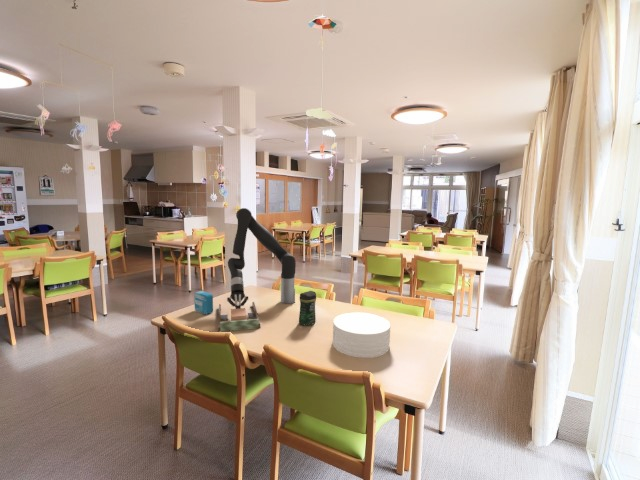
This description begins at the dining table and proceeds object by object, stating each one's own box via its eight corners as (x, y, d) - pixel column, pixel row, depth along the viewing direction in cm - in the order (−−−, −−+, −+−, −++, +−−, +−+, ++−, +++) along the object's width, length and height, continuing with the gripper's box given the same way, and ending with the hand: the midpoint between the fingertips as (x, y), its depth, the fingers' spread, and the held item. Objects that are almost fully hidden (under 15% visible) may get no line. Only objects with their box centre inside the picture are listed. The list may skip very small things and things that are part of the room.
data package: (194, 310, 203) (194, 292, 201) (200, 308, 207) (200, 290, 205) (207, 314, 196) (206, 295, 195) (213, 312, 200) (212, 293, 199)
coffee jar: (306, 327, 181) (307, 295, 179) (296, 323, 186) (297, 292, 184) (318, 322, 189) (318, 291, 186) (307, 319, 194) (308, 288, 191)
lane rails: (254, 305, 215) (253, 298, 214) (260, 328, 179) (260, 319, 178) (219, 307, 209) (219, 300, 208) (218, 331, 173) (218, 322, 172)
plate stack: (352, 328, 182) (353, 308, 181) (399, 343, 165) (400, 321, 163) (321, 345, 161) (321, 322, 159) (370, 364, 143) (371, 339, 142)
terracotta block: (245, 319, 191) (245, 308, 190) (246, 327, 180) (246, 315, 179) (231, 320, 189) (230, 309, 188) (231, 328, 177) (231, 316, 176)
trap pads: (254, 312, 201) (254, 312, 201) (255, 317, 194) (255, 317, 194) (220, 315, 196) (220, 315, 196) (220, 320, 188) (220, 319, 188)
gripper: (226, 283, 195) (226, 310, 185) (248, 282, 199) (250, 308, 189) (226, 289, 201) (226, 315, 191) (247, 288, 205) (249, 314, 195)
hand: (238, 312), depth 190 cm, fingers closed
